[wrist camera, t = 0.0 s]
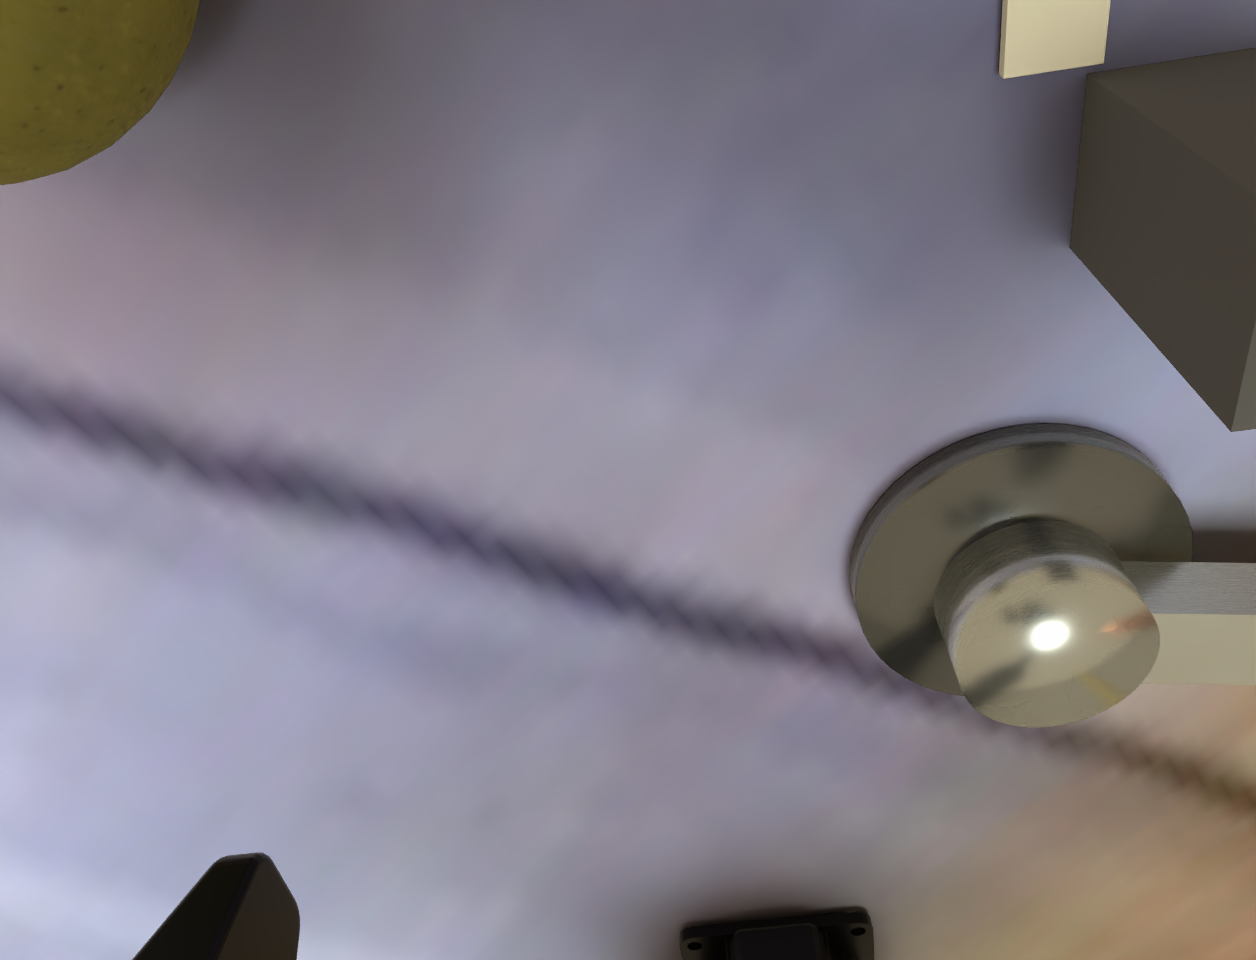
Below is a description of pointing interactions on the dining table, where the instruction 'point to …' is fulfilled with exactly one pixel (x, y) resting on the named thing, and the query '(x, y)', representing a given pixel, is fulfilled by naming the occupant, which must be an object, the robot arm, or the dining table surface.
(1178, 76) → the dark gray rectangular block
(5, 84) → the apple
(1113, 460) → the hub plate
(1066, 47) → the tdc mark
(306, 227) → the dining table surface
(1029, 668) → the crank
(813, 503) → the dining table surface
